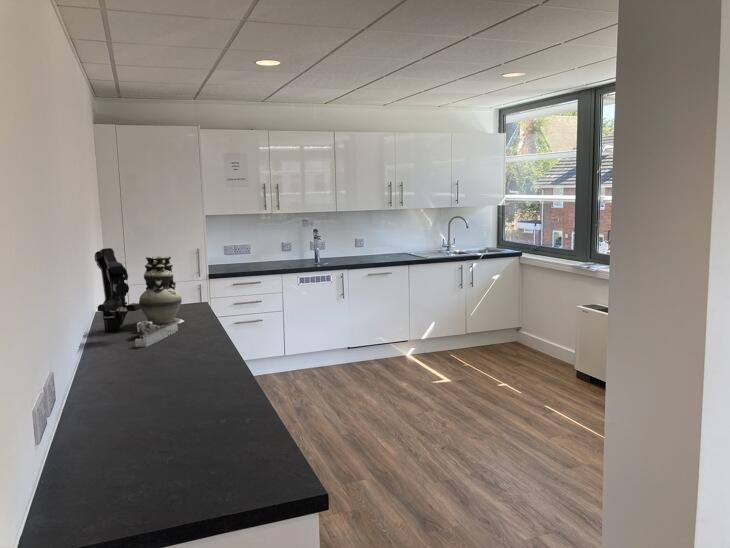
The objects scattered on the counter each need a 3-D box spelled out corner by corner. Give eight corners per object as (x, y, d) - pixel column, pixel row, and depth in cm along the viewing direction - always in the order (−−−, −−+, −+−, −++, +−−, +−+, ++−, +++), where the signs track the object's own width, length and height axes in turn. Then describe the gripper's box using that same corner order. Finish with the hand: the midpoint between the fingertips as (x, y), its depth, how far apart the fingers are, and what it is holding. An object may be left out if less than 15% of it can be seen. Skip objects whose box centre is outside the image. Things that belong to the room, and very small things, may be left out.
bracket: (135, 346, 260) (134, 335, 259) (167, 331, 289) (167, 321, 288) (147, 346, 259) (147, 335, 258) (178, 331, 288) (178, 321, 287)
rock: (163, 338, 274) (162, 323, 273) (140, 341, 270) (138, 325, 269) (161, 332, 288) (160, 318, 287) (138, 335, 284) (137, 320, 283)
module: (137, 332, 288) (136, 322, 287) (140, 330, 292) (139, 320, 291) (150, 332, 288) (149, 322, 287) (152, 330, 292) (152, 320, 291)
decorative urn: (167, 318, 323) (162, 254, 319) (192, 321, 310) (187, 254, 307) (132, 325, 306) (126, 258, 302) (157, 328, 293) (151, 258, 290)
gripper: (88, 295, 267) (92, 329, 269) (127, 295, 264) (130, 329, 266) (103, 291, 278) (106, 324, 280) (140, 291, 275) (142, 324, 277)
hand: (120, 325), depth 276 cm, fingers closed
